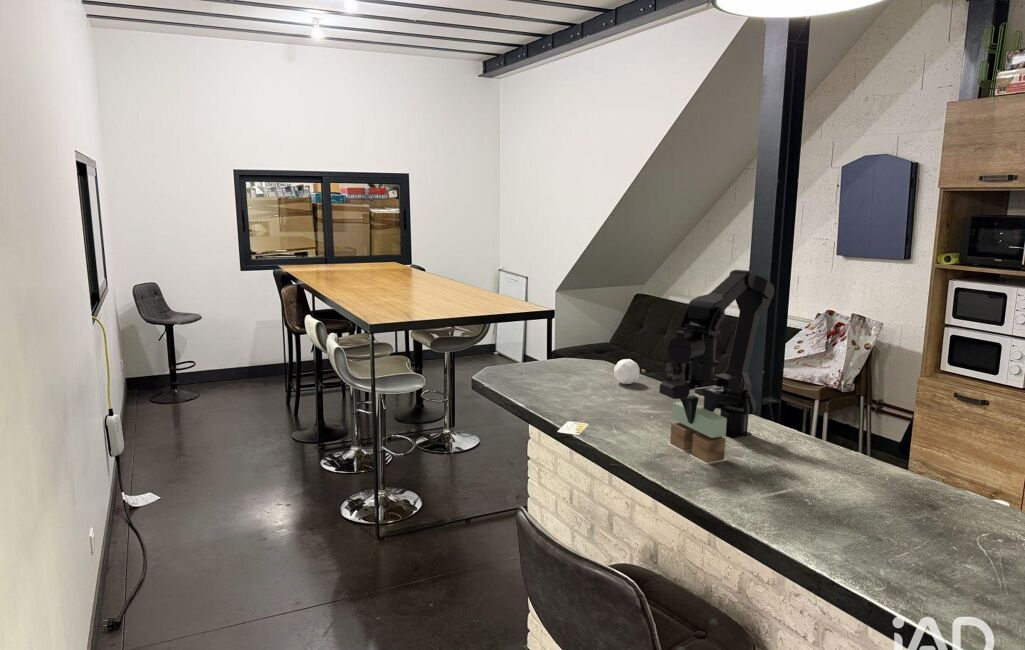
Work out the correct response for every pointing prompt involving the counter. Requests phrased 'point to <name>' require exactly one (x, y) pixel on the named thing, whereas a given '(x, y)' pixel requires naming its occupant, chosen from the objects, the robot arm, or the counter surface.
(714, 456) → the tan wood block
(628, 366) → the white faceted ovoid
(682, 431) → the brown wooden cube
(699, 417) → the plank
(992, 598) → the counter surface
